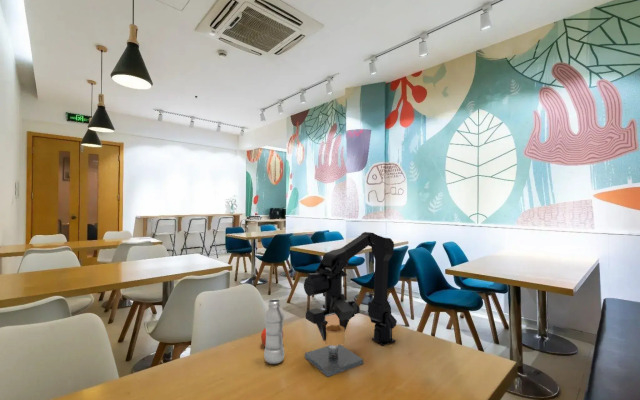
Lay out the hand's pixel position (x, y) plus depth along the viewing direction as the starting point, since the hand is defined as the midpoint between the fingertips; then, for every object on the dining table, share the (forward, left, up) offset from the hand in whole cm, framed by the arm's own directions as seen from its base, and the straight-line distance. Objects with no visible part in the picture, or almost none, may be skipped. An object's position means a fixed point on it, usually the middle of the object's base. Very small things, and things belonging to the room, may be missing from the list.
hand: (333, 337), depth 99 cm
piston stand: (0, 0, -8) cm, 8 cm away
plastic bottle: (+17, -10, -8) cm, 21 cm away
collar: (0, 0, -1) cm, 1 cm away
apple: (+13, -21, -8) cm, 26 cm away
